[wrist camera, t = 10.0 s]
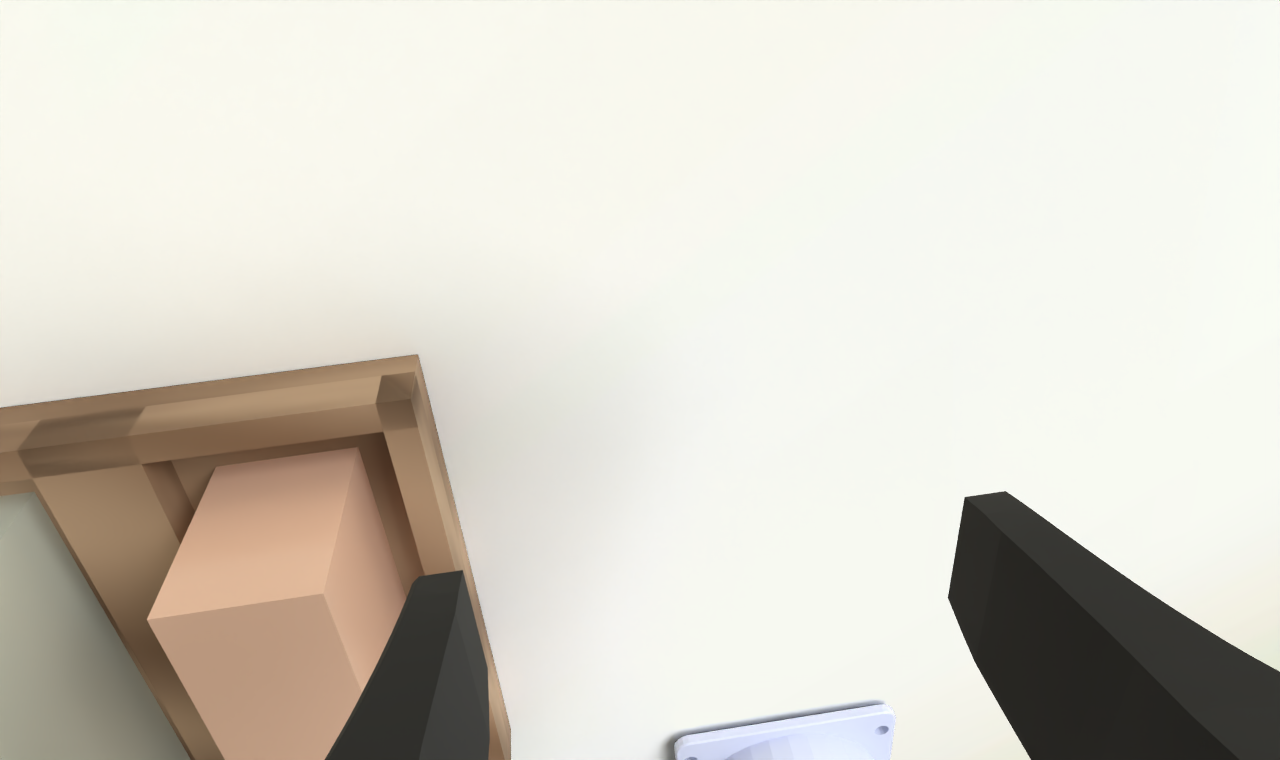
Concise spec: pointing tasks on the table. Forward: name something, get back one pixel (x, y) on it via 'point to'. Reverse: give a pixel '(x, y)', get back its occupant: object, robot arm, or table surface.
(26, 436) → the rack
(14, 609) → the grey-green block
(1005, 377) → the table surface
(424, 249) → the table surface
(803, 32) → the table surface
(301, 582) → the peach rectangular block
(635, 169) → the table surface
